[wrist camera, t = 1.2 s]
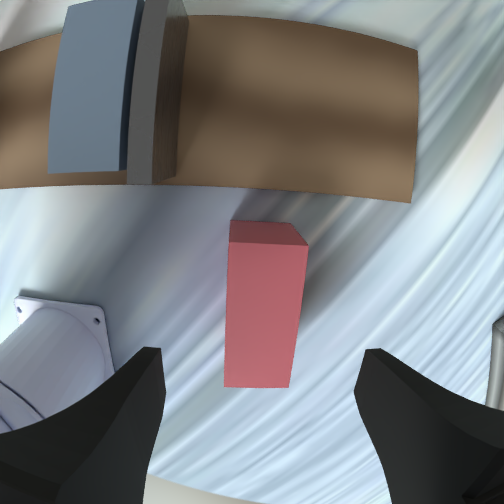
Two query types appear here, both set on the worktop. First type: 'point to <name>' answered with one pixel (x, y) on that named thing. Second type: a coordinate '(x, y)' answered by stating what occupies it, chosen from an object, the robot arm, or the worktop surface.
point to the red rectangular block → (263, 303)
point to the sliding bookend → (157, 92)
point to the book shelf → (249, 111)
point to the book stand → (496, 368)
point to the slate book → (94, 87)
